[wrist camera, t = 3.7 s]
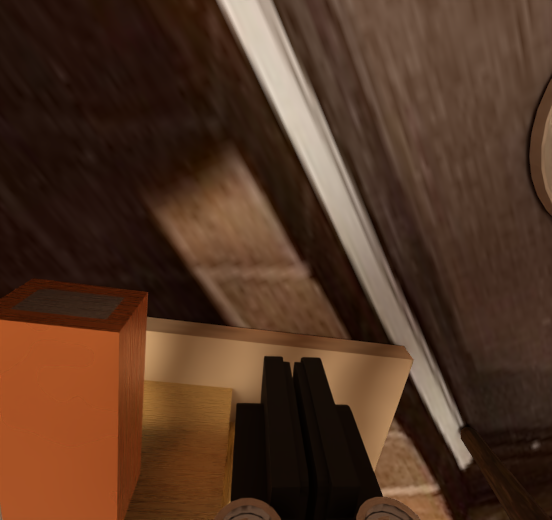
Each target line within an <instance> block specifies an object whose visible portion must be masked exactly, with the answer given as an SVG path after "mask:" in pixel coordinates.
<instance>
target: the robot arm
mask: <svg viewBox="0 0 552 520" xmlns="http://www.w3.org/2000/svg"><path fill="white" fill-rule="evenodd" d="M529 158H530V168H531V177H532V181H533V184H534V187H535V190H536V193H537V196H538V197H539V199H540V201H541V202H542V204H543V206H544V207H545V209H546V210H547V212H548V213H550V214H551V215H552V79H551V81H550V83H549V84H548V86H547V89H546V91H545V93H544V96H543V98H542V100H541V103H540V105H539V107H538V110H537V114H536V118H535V121H534V125H533V129H532V133H531V143H530V155H529ZM214 520H420V518H419V517H418V515H416V514H415V513H414V512H413V511H412V510H411V509H410V508H409V507H408V506H406V505H404V504H403V503H401V502H399V501H397V500H395V499H391V498H388V497H383V495H382V493H381V490H380V487H379V484H378V482H377V479H376V476H375V473H374V471H373V468H372V465H371V462H370V460H369V457H368V454H367V451H366V449H365V446H364V443H363V441H362V438H361V435H360V432H359V430H358V427H357V424H356V421H355V419H354V416H353V413H352V411H351V408H350V407H349V406H348V405H342V404H335V402H334V399H333V396H332V393H331V390H330V386H329V383H328V380H327V377H326V373H325V370H324V367H323V364H322V361H321V358H318V357H302V358H301V361H300V362H294V368H293V377H292V373H291V367H290V362H283V357H281V356H264V362H263V375H262V388H261V400H260V403H237V404H236V419H235V435H234V451H233V467H232V483H231V498H230V503H229V504H227V505H226V506H225V507H223V508H222V509H221V510H220V511H219V513H218V514H217V515H216V517H215V518H214Z"/></svg>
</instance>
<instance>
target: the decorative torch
mask: <svg viewBox="0 0 552 520" xmlns="http://www.w3.org/2000/svg"><path fill="white" fill-rule="evenodd" d="M461 440H462V441H463V443H464V444H465V446H466V447H467V449H468V451H469V452H470V454H471V455H472V457H473V458H474V460H475V462H476V463H477V465H478V467H479V468H480V470H481V472H482V473H483V475H484V476H485V478H486V480H487V481H488V483H489V485H490V486H491V488H492V490H493V491H494V493H495V495H496V496H497V498H498V500H499V501H500V503H501V505H502V506H503V508H504V510H505V511H506V513H507V514H508V516H509V518H510V519H511V520H551V519H550V518H549V517H548V515H547V514H546V513H545V512H544V511H543V510H542V508H541V507H540V506H539V505H538V504H537V502H536V501H535V500H534V499H533V498H532V497H531V495H530V494H529V493H528V492H527V491H526V490H525V488H524V487H523V486H522V485H521V484H520V483H519V481H518V480H517V479H516V478H515V477H514V476H513V474H512V473H511V472H510V471H509V470H508V469H507V467H506V466H505V465H504V464H503V463H502V462H501V460H500V459H499V458H498V457H497V456H496V455H495V453H494V452H493V451H492V450H491V448H490V447H489V446H488V445H487V444H486V442H485V441H484V440H483V439H482V437H481V436H480V435H479V434H478V432H477V431H476V430H474V429H472V428H470V427H465V428H463V429H462V430H461Z"/></svg>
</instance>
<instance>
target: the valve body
mask: <svg viewBox="0 0 552 520" xmlns="http://www.w3.org/2000/svg"><path fill="white" fill-rule="evenodd" d="M232 389H233V388H223V387H213V386H202V385H192V384H181V383H170V382H160V381H149V380H144V396H143V420H142V444H141V468H140V475H139V478H138V481H137V484H136V487H135V490H134V492H133V495H132V498H131V501H130V504H129V507H128V510H127V512H126V515H125V518H124V520H214V518H215V517H216V515H217V514H218V513H219V511H220V510H221V509H222V508H223V507H225V506H226V505H227V504H229V503H230V498H231V483H232V467H233V451H234V435H235V422H229V420H230V410H231V399H232ZM0 520H3V519H2V513H1V506H0Z"/></svg>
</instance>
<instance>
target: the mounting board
mask: <svg viewBox="0 0 552 520" xmlns="http://www.w3.org/2000/svg"><path fill="white" fill-rule="evenodd" d="M264 356H281V357H283V362H290V367H291V373H292V377H293V368H294V362H300V361H301V358H302V357H318V358H321V361H322V364H323V367H324V370H325V373H326V377H327V380H328V383H329V386H330V390H331V393H332V396H333V399H334V402H335V404H342V405H348V406H349V407H350V408H351V411H352V413H353V416H354V419H355V421H356V424H357V427H358V430H359V432H360V435H361V438H362V441H363V443H364V446H365V449H366V451H367V454H368V457H369V460H370V462H371V465H372V468H373V471H375V468H376V465H377V462H378V460H379V457H380V454H381V451H382V448H383V445H384V443H385V440H386V437H387V434H388V431H389V428H390V426H391V423H392V420H393V417H394V414H395V411H396V409H397V406H398V403H399V400H400V397H401V394H402V392H403V389H404V386H405V383H406V380H407V377H408V375H409V372H410V369H411V366H412V363H413V358H412V357H411V356H410V354H409V353H408V351H407V350H406V349H405V347H404V346H398V345H389V344H380V343H371V342H362V341H354V340H345V339H336V338H327V337H318V336H310V335H301V334H292V333H283V332H274V331H266V330H257V329H248V328H239V327H231V326H222V325H213V324H204V323H195V322H187V321H178V320H169V319H160V318H151V317H147V325H146V349H145V372H144V380H149V381H160V382H170V383H181V384H192V385H202V386H213V387H223V388H233V389H232V399H231V410H230V420H229V422H235V419H236V404H237V403H260V400H261V388H262V375H263V362H264Z"/></svg>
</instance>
